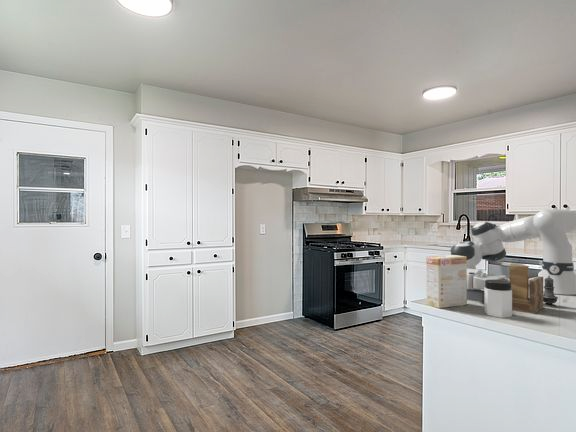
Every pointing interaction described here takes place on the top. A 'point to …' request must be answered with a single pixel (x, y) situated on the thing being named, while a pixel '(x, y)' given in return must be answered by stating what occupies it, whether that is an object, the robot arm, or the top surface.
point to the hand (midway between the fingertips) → (512, 284)
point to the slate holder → (475, 295)
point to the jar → (498, 298)
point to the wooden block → (519, 281)
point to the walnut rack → (532, 297)
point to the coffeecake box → (446, 281)
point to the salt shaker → (549, 293)
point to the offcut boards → (520, 300)
